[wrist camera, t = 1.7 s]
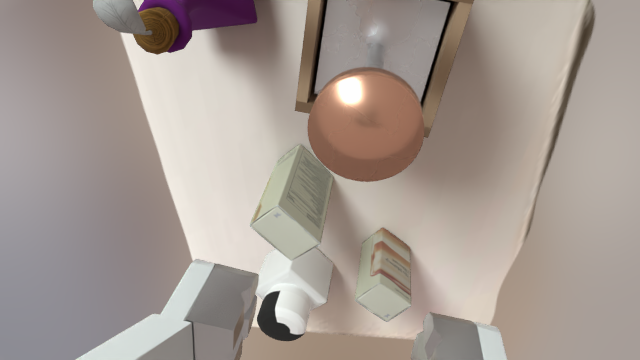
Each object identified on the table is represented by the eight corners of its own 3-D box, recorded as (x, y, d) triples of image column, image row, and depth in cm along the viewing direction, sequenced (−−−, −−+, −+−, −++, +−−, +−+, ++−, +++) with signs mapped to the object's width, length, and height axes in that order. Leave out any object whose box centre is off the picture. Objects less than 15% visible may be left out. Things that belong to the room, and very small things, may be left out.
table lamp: (331, -21, 27) (285, 22, 15) (449, 1, 26) (488, 61, 15) (315, 91, 31) (270, 187, 20) (416, 111, 30) (427, 221, 19)
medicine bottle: (299, 283, 60) (280, 354, 51) (265, 254, 58) (238, 322, 48) (334, 263, 57) (321, 336, 47) (300, 231, 55) (279, 300, 45)
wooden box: (339, -53, 36) (313, -40, 24) (450, -33, 36) (477, -10, 24) (323, 57, 42) (295, 110, 30) (418, 76, 41) (427, 137, 30)
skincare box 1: (275, 161, 49) (244, 223, 39) (300, 142, 47) (274, 202, 37) (311, 196, 51) (290, 264, 41) (336, 178, 49) (321, 245, 39)
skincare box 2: (411, 246, 53) (414, 307, 45) (388, 263, 56) (387, 324, 47) (382, 224, 52) (379, 282, 44) (359, 242, 54) (353, 301, 46)
